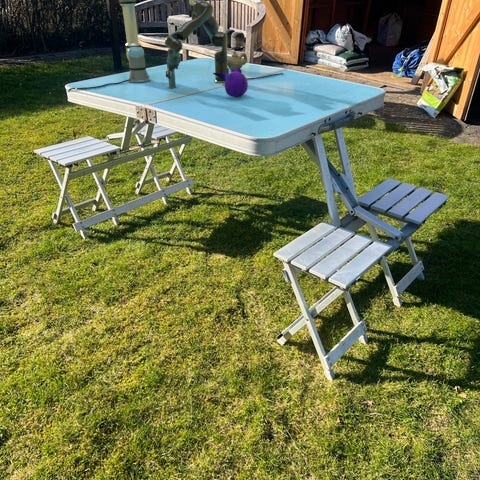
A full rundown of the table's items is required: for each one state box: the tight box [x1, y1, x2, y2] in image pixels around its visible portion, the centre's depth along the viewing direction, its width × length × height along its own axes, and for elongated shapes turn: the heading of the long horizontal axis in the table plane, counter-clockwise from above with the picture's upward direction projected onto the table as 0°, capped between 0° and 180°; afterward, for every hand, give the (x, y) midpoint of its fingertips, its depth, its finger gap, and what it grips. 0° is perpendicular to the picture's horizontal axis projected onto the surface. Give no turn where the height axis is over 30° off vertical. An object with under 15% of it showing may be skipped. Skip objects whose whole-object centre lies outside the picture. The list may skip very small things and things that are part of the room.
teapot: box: [227, 50, 248, 71], centre depth 366 cm, size 21×12×15 cm, turn 120°
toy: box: [212, 68, 249, 99], centre depth 288 cm, size 16×18×27 cm
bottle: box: [166, 63, 177, 89], centre depth 313 cm, size 5×5×18 cm
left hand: (196, 35), depth 349 cm, fingers open, 13 cm apart
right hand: (172, 73), depth 299 cm, fingers open, 8 cm apart
